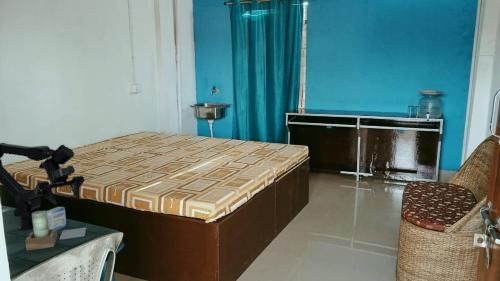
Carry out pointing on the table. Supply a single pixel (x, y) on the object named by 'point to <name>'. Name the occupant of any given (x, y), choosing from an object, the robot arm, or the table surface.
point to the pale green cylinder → (40, 224)
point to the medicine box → (56, 218)
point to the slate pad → (73, 233)
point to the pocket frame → (41, 240)
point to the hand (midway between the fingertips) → (67, 201)
